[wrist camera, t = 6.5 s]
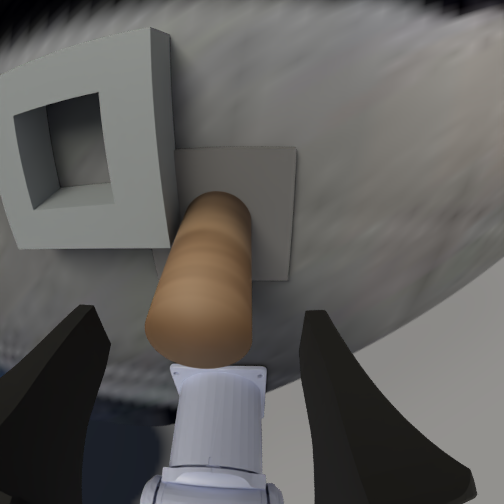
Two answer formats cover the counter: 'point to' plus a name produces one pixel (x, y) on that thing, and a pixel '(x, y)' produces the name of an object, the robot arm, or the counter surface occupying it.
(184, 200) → the pad
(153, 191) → the socket
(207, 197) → the peg
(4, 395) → the robot arm
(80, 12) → the counter surface
